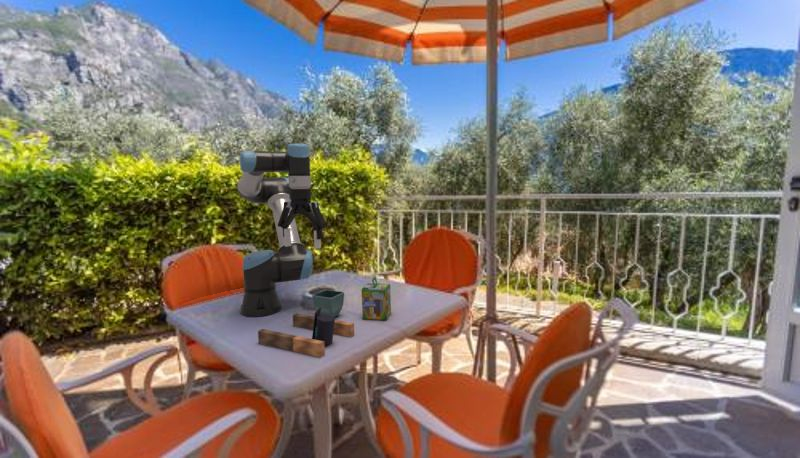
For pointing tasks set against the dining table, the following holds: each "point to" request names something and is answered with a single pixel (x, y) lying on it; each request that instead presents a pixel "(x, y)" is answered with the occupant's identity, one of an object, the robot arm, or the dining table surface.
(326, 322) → the speaker
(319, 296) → the flower pot
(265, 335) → the channel
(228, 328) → the dining table surface
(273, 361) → the dining table surface
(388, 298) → the chalk box
